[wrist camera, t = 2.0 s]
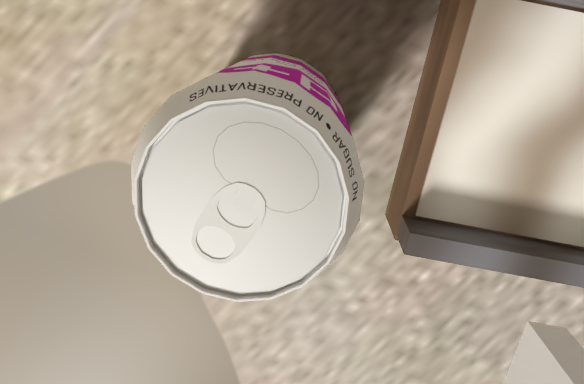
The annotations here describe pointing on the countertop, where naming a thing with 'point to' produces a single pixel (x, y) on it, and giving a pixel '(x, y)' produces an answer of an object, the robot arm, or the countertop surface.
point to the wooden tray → (498, 142)
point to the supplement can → (248, 180)
